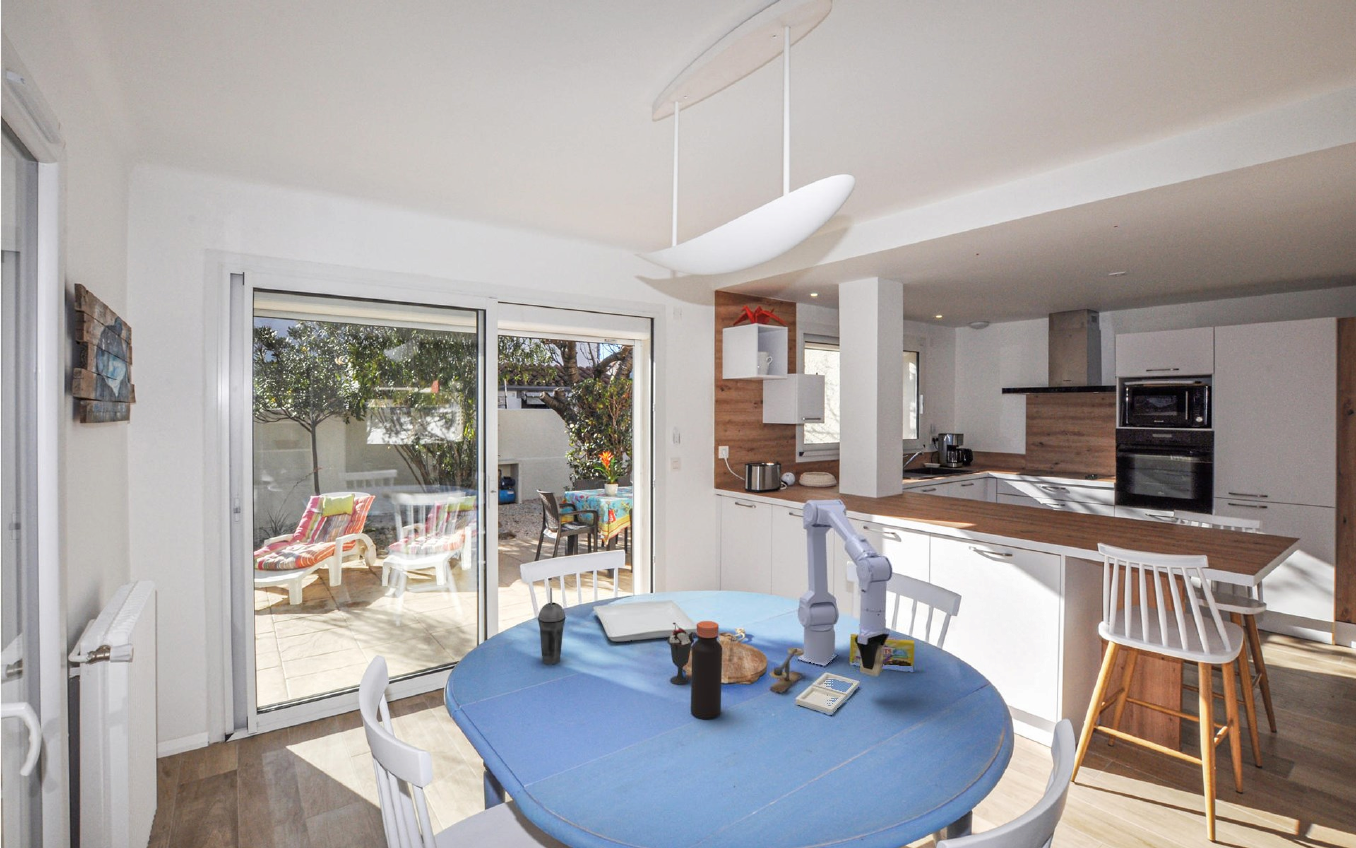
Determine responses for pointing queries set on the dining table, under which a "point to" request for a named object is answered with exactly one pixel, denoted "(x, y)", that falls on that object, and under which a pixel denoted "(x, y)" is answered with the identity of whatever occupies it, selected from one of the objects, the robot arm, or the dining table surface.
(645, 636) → the square plate
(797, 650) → the balance
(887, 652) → the candy box
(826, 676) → the white square tray
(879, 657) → the maple block
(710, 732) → the dining table surface
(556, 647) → the beverage cup
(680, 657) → the sundae
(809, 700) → the outer dish
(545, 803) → the dining table surface
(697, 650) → the bottle
